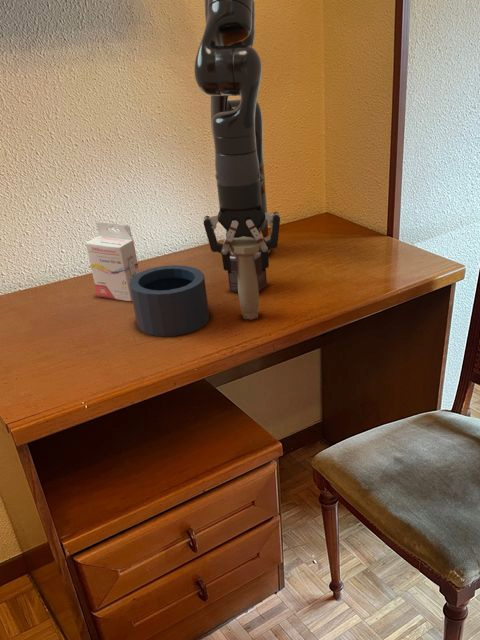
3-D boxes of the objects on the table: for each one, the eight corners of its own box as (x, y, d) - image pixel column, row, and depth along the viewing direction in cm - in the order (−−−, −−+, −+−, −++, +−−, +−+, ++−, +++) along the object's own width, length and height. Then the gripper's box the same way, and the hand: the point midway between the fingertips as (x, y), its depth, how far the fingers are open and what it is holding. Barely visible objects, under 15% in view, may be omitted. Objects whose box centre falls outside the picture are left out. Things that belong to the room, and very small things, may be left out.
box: (267, 285, 142) (265, 252, 138) (254, 296, 137) (251, 262, 133) (243, 281, 144) (240, 248, 140) (229, 291, 140) (225, 258, 135)
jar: (141, 307, 134) (133, 267, 129) (209, 303, 135) (204, 263, 130) (133, 338, 123) (124, 296, 118) (208, 333, 124) (202, 291, 119)
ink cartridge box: (96, 297, 139) (80, 228, 130) (109, 288, 142) (94, 220, 134) (131, 302, 136) (117, 231, 128) (144, 292, 140) (131, 223, 132)
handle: (248, 326, 126) (241, 249, 117) (231, 314, 130) (223, 240, 122) (269, 319, 128) (264, 244, 120) (252, 308, 133) (246, 234, 124)
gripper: (278, 170, 118) (283, 261, 128) (197, 174, 117) (208, 266, 126) (281, 181, 112) (286, 276, 121) (195, 186, 111) (207, 281, 120)
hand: (246, 270), depth 124 cm, fingers open, 5 cm apart
